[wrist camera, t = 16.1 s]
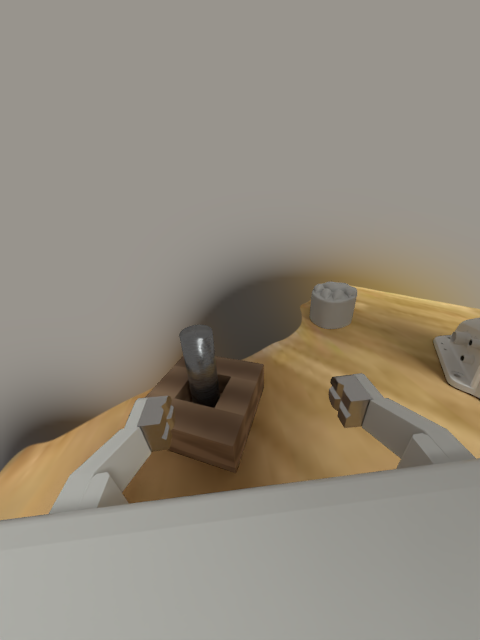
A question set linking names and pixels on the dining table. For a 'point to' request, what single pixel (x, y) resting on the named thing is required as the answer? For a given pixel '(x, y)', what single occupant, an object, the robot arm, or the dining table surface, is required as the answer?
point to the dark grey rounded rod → (200, 364)
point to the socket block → (214, 412)
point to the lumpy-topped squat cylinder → (332, 305)
